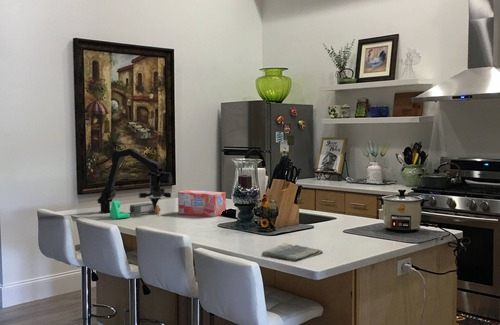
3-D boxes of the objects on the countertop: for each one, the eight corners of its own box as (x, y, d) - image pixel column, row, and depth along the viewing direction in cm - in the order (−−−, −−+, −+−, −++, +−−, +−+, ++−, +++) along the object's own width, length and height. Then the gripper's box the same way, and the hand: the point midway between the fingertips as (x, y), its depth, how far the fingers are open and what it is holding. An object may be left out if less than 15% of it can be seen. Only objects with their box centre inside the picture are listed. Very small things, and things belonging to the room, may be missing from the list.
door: (157, 214, 338) (157, 206, 338) (154, 211, 348) (153, 204, 348) (160, 214, 339) (160, 206, 338) (157, 211, 349) (156, 203, 348)
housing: (128, 213, 346) (128, 204, 346) (149, 210, 354) (149, 202, 354) (133, 214, 340) (132, 205, 340) (154, 211, 348) (154, 203, 348)
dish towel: (296, 263, 215) (296, 255, 215) (260, 256, 227) (260, 249, 227) (324, 254, 229) (324, 246, 229) (289, 248, 241) (289, 241, 241)
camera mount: (130, 218, 327) (129, 200, 326) (118, 220, 322) (117, 202, 322) (122, 216, 336) (121, 198, 336) (109, 217, 332) (109, 200, 331)
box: (226, 214, 334) (226, 191, 333) (214, 217, 323) (213, 193, 323) (190, 211, 348) (190, 189, 347) (177, 214, 338) (176, 191, 337)
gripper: (141, 184, 329) (141, 211, 330) (173, 184, 336) (172, 210, 337) (138, 182, 340) (138, 208, 340) (169, 182, 346) (168, 208, 347)
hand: (154, 209), depth 341 cm, fingers closed
